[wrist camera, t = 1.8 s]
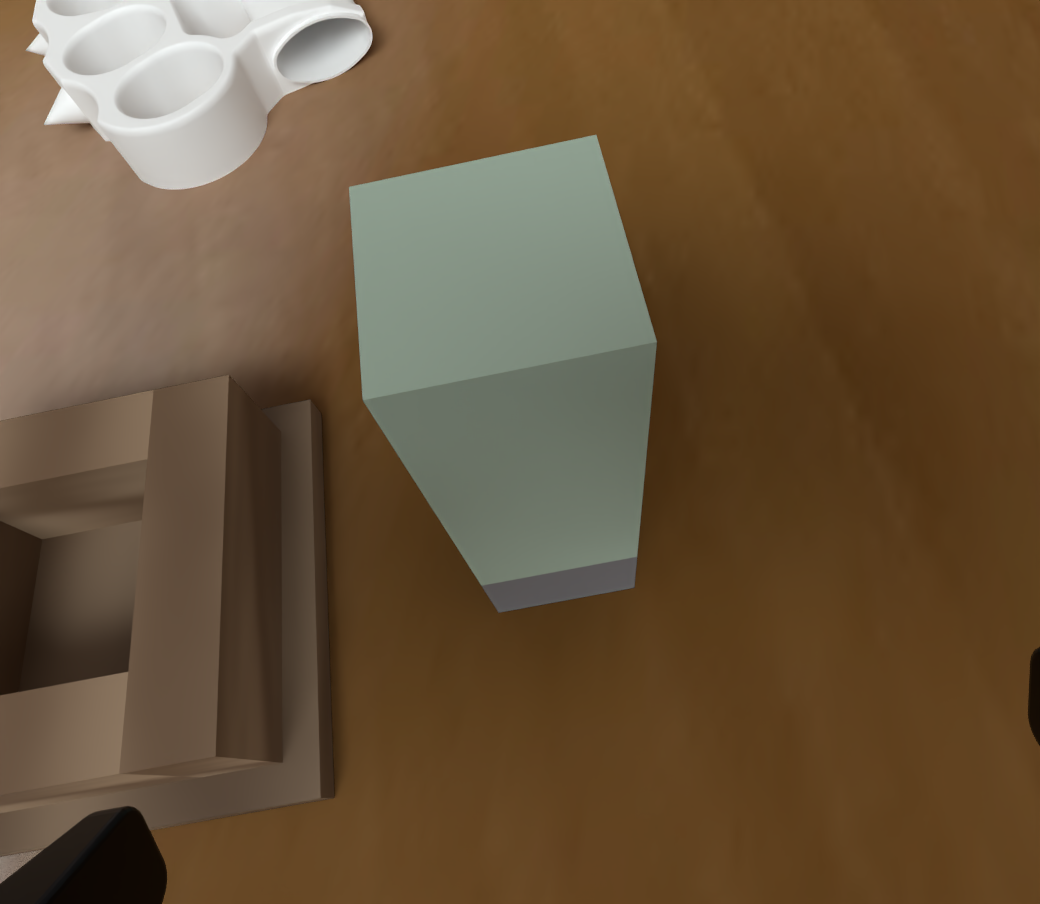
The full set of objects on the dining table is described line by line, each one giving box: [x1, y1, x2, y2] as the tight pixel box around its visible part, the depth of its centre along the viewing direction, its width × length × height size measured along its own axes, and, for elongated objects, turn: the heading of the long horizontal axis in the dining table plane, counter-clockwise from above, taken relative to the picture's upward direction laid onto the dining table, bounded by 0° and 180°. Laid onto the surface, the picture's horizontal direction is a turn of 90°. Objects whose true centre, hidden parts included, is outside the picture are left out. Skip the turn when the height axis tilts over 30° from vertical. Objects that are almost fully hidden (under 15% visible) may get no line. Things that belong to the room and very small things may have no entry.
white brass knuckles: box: [26, 0, 372, 189], centre depth 33 cm, size 3×18×15 cm
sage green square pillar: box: [349, 135, 657, 613], centre depth 16 cm, size 4×4×12 cm
